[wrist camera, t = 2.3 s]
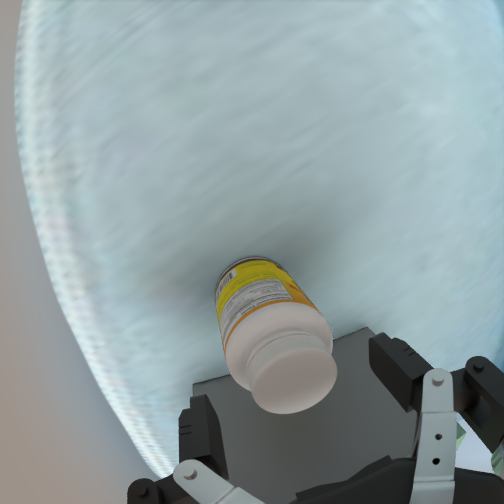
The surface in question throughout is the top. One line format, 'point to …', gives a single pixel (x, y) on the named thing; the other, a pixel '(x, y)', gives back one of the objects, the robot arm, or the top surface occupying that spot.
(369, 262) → the top surface
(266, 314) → the supplement bottle
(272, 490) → the box
